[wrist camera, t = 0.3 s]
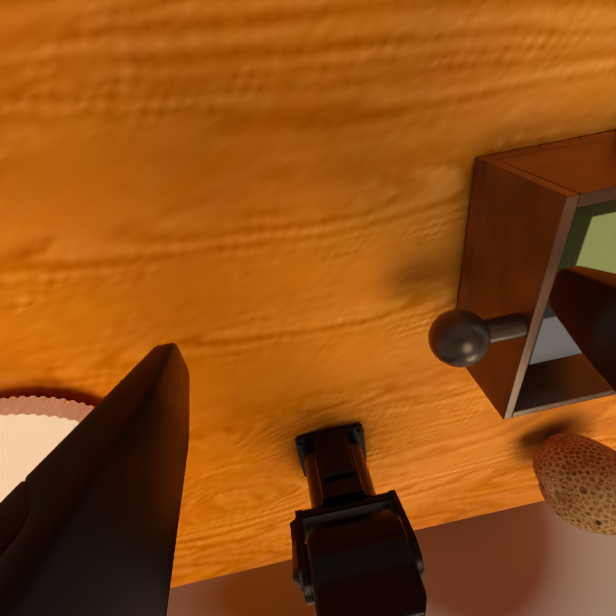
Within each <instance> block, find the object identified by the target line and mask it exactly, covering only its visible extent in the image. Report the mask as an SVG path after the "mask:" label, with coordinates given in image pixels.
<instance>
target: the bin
mask: <svg viewBox="0 0 616 616" xmlns="http://www.w3.org/2000/svg"><path fill="white" fill-rule="evenodd" d="M614 199H616V130H615V131H610V132H604V133H599V134H594V135H589V136H584V137H579V138H574V139H569V140H564V141H559V142H554V143H549V144H543V145H538V146H533V147H528V148H523V149H518V150H513V151H508V152H503V153H498V154H493V155H488V156H483V157H478V158H477V159H476V166H475V174H474V182H473V190H472V198H471V206H470V213H469V221H468V229H467V237H466V245H465V253H464V261H463V268H462V276H461V284H460V292H459V300H458V308H457V309H456V310H450V311H447V312H445V313H443V314H441V315H440V316H438V317H437V318H436V319H435V320H434V322H433V323H432V325H431V327H430V330H429V334H428V341H429V345H430V348H431V350H432V352H433V353H434V355H435V356H436V357H437V358H438V359H439V360H440V361H442V362H443V363H445V364H447V365H450V366H453V367H466V368H467V370H468V371H469V373H470V374H471V375H472V377H473V378H474V379H475V381H476V382H477V384H478V385H479V386H480V388H481V389H482V391H483V392H484V393H485V395H486V396H487V397H488V399H489V400H490V402H491V403H492V404H493V406H494V407H495V409H496V410H497V411H498V413H499V414H500V415H501V417H502V418H503V419H508V418H511V417H517V416H521V415H525V414H530V413H534V412H539V411H543V410H547V409H552V408H556V407H561V406H565V405H569V404H574V403H578V402H583V401H587V400H591V399H596V398H600V397H604V396H609V395H613V394H616V392H615V391H614V390H613V389H612V388H611V386H610V385H609V384H608V383H607V382H606V381H605V380H604V378H603V377H602V376H601V375H600V374H599V373H598V371H597V370H596V369H595V368H594V367H593V366H592V364H591V363H590V362H589V361H588V360H587V358H586V357H585V356H584V355H583V353H580V354H576V355H571V356H567V357H562V358H558V359H553V360H549V361H544V362H540V363H535V364H531V365H529V364H528V362H529V359H530V356H531V352H532V349H533V346H534V343H535V339H536V336H537V333H538V330H539V326H540V323H541V320H542V317H543V313H544V310H545V307H546V304H547V300H548V297H549V294H550V291H551V287H552V284H553V281H554V278H555V275H556V271H557V268H558V265H559V261H560V258H561V255H562V251H563V248H564V245H565V242H566V238H567V235H568V232H569V229H570V225H571V222H572V219H573V216H574V212H575V209H576V207H580V206H585V205H590V204H594V203H599V202H604V201H609V200H614Z"/></svg>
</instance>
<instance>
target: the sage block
mask: <svg viewBox="0 0 616 616" xmlns="http://www.w3.org/2000/svg"><path fill="white" fill-rule="evenodd" d="M572 266H583V267H588V268H592V269H597V270H601V271H606V272H610V273H616V199H614V200H609V201H604V202H599V203H594V204H590V205H585V206H580V207H576V209H575V212H574V216H573V219H572V222H571V225H570V229H569V232H568V235H567V238H566V242H565V245H564V248H563V251H562V255H561V258H560V261H559V265H558V268H557V271H556V273H557V272H558V271H559V270H560V269H562V268H567V267H572Z"/></svg>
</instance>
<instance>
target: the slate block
mask: <svg viewBox="0 0 616 616" xmlns="http://www.w3.org/2000/svg"><path fill="white" fill-rule="evenodd" d="M554 279H555V278H554ZM553 282H554V281H553ZM552 285H553V284H552ZM551 288H552V287H551ZM548 298H549V297H548ZM580 353H582V352H581V350H580V349H579V348H578V346H577V345H576V343H575V342H574V341H573V339H572V338H571V336H570V335H569V334H568V332H567V331H566V329H565V328H564V327H563V325H562V324H561V322H560V321H559V319H558V318H557V317H556V315H555V314H554V312H553V311H552V310H551V308H550V306H549V303H548V300H547V304H546V307H545V310H544V313H543V317H542V320H541V323H540V326H539V330H538V333H537V336H536V339H535V343H534V346H533V349H532V352H531V356H530V359H529V362H528V364H529V365H531V364H535V363H540V362H544V361H549V360H553V359H558V358H562V357H567V356H571V355H576V354H580Z"/></svg>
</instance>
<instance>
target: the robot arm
mask: <svg viewBox="0 0 616 616" xmlns="http://www.w3.org/2000/svg"><path fill="white" fill-rule="evenodd" d="M548 303H549V306H550V308H551V310H552V311H553V312H554V314H555V315H556V317H557V318H558V319H559V321H560V322H561V324H562V325H563V327H564V328H565V329H566V331H567V332H568V334H569V335H570V336H571V338H572V339H573V341H574V342H575V343H576V345H577V346H578V348H579V349H580V350H581V352H582V353H583V355H584V356H585V357H586V358H587V360H588V361H589V362H590V363H591V364H592V366H593V367H594V368H595V369H596V370H597V371H598V373H599V374H600V375H601V376H602V377H603V378H604V380H605V381H606V382H607V383H608V384H609V385H610V386H611V388H612V389H613V390H614V391H615V392H616V274H614V273H610V272H606V271H601V270H597V269H592V268H588V267H583V266H572V267H567V268H562V269H560V270H559V271H558V272H557V273H556V275H555V279H554V282H553V285H552V288H551V291H550V294H549V298H548ZM188 442H189V372H188V368H187V366H186V364H185V362H184V359H183V357H182V355H181V353H180V350H179V348H178V346H177V345H176V344H174V343H169V344H163V345H158V346H156V347H154V348H153V349H152V350H151V351H150V352H149V353H148V354H147V355H146V356H145V357H144V358H143V359H142V360H141V361H140V362H139V363H138V364H137V365H136V366H135V367H134V368H133V369H132V370H131V371H130V372H129V373H128V374H127V375H126V376H125V378H124V379H123V380H122V381H121V382H120V383H119V384H118V385H117V386H116V387H115V388H114V389H113V390H112V391H111V392H110V393H109V394H108V395H107V396H106V397H105V398H104V399H103V400H102V401H101V402H100V403H99V404H98V405H97V406H96V407H95V408H94V409H93V410H92V411H91V412H90V413H89V414H88V415H87V416H86V417H85V418H84V419H83V420H82V421H81V422H80V423H79V424H78V425H77V426H76V427H75V428H74V429H73V430H72V431H71V432H70V433H69V434H68V435H67V436H66V437H65V438H64V439H63V440H62V441H61V442H60V443H59V444H58V445H57V446H56V447H55V448H54V449H53V450H52V451H51V452H50V453H49V454H48V455H47V456H46V457H45V458H44V459H43V460H42V461H41V462H40V463H39V464H38V465H37V466H36V467H35V468H34V469H33V470H32V471H31V472H30V473H29V474H28V475H27V476H26V478H25V481H21V482H20V483H19V484H18V485H17V486H16V487H15V488H14V489H13V490H12V491H11V492H10V493H9V494H8V495H7V496H6V497H5V498H4V499H3V500H2V501H1V502H0V616H166V614H167V606H168V598H169V591H170V583H171V575H172V568H173V560H174V552H175V544H176V537H177V529H178V521H179V514H180V506H181V498H182V490H183V483H184V475H185V467H186V460H187V452H188ZM295 444H296V448H297V451H298V455H299V458H300V462H301V465H302V469H303V472H304V476H305V477H307V481H308V487H309V493H310V500H311V506H312V509H308V510H303V511H302V510H298V511H295V514H296V518H295V520H293V521H292V522H291V523H290V528H291V537H292V561H293V579H294V582H295V583H297V585H299V586H300V587H301V589H302V593H303V594H305V599H306V604H307V605H312V604H315V605H316V612H317V616H425V611H426V602H427V596H426V592H425V589H424V585H423V583H422V579H424V578H425V569H424V563H423V559H422V555H421V552H420V548H419V545H418V542H417V539H416V536H415V534H414V531H413V529H412V527H411V525H410V522H409V520H408V518H407V516H406V514H405V511H404V509H403V507H402V505H401V503H400V500H399V498H398V496H397V494H396V492H395V490H391V491H388V492H387V493H382V494H378V495H376V493H375V490H374V487H373V483H372V480H371V477H370V474H369V470H368V467H367V464H366V451H365V440H364V429H363V426H362V424H360V423H358V424H353V425H348V426H344V427H339V428H335V429H330V430H326V431H322V432H317V433H313V434H308V435H304V436H299V437H297V438H296V439H295Z"/></svg>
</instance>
